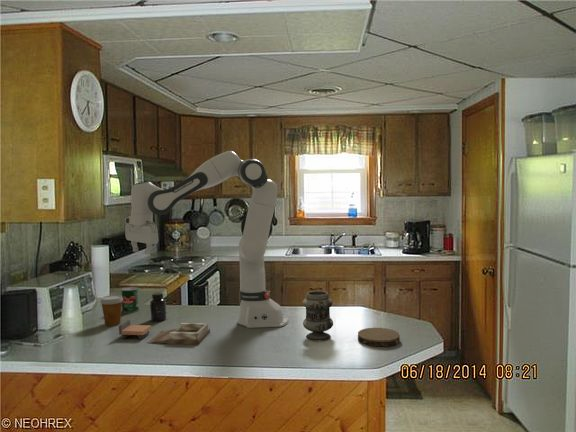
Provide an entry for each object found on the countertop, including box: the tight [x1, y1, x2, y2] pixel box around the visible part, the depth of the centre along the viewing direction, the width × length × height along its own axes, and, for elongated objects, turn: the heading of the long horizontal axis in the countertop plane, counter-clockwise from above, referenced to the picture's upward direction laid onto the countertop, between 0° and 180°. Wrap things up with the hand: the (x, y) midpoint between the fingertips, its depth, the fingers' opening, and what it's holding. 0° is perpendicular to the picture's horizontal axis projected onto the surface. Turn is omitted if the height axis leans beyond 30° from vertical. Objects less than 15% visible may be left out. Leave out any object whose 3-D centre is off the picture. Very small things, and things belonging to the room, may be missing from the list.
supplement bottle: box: [149, 292, 167, 322], centre depth 222 cm, size 7×7×12 cm
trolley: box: [118, 319, 152, 340], centre depth 198 cm, size 10×8×6 cm
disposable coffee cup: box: [100, 294, 123, 327], centre depth 216 cm, size 10×10×12 cm
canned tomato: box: [120, 286, 140, 314], centre depth 238 cm, size 8×8×11 cm
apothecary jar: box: [302, 290, 334, 342], centre depth 193 cm, size 12×12×18 cm
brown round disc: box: [357, 327, 401, 349], centre depth 189 cm, size 16×16×3 cm
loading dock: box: [146, 322, 211, 346], centre depth 196 cm, size 21×15×5 cm
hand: (141, 252), depth 206 cm, fingers open, 8 cm apart
